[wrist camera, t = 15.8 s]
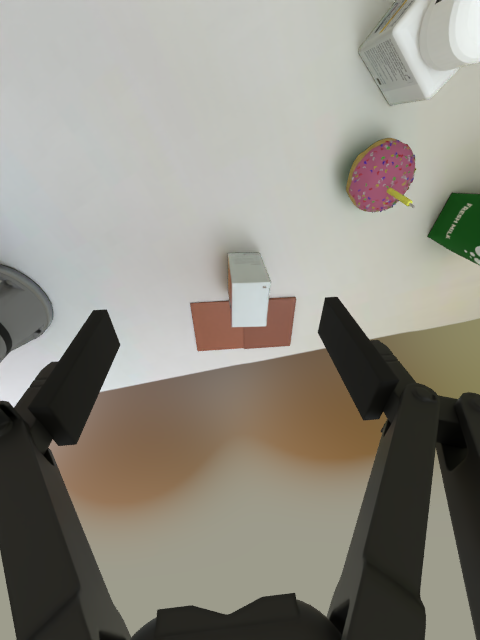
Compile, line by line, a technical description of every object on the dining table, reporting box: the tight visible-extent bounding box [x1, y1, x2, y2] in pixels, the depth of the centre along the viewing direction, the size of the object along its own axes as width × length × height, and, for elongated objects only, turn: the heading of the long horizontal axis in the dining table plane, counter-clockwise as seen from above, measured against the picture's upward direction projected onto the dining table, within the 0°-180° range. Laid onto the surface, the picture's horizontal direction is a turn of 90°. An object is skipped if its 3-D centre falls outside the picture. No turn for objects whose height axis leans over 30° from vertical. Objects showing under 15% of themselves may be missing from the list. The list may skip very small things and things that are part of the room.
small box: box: [228, 253, 271, 327], centre depth 42 cm, size 8×6×10 cm
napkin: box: [190, 297, 296, 351], centre depth 52 cm, size 20×12×1 cm, turn 91°
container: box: [359, 0, 480, 105], centre depth 25 cm, size 8×8×13 cm
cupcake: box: [346, 138, 416, 212], centre depth 33 cm, size 9×8×12 cm
